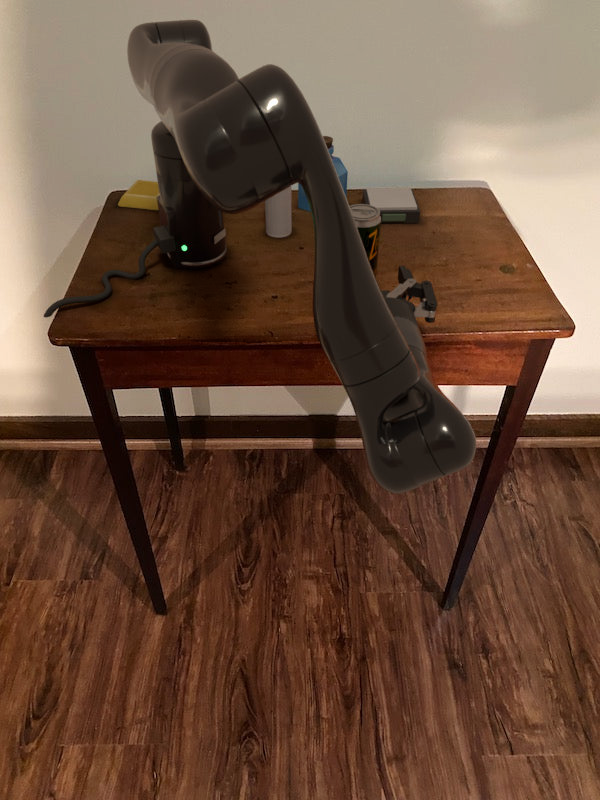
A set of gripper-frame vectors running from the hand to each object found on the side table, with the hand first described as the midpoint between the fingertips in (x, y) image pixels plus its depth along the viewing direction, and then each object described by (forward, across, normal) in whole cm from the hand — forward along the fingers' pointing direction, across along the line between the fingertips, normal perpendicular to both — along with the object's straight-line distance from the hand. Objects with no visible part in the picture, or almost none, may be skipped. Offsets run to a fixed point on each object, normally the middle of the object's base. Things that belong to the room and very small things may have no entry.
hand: (368, 272), depth 88 cm
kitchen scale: (+33, -9, +7) cm, 35 cm away
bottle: (+27, +11, +8) cm, 30 cm away
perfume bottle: (+36, +3, +8) cm, 37 cm away
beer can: (+8, 0, +8) cm, 11 cm away
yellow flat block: (+42, +34, +5) cm, 54 cm away
